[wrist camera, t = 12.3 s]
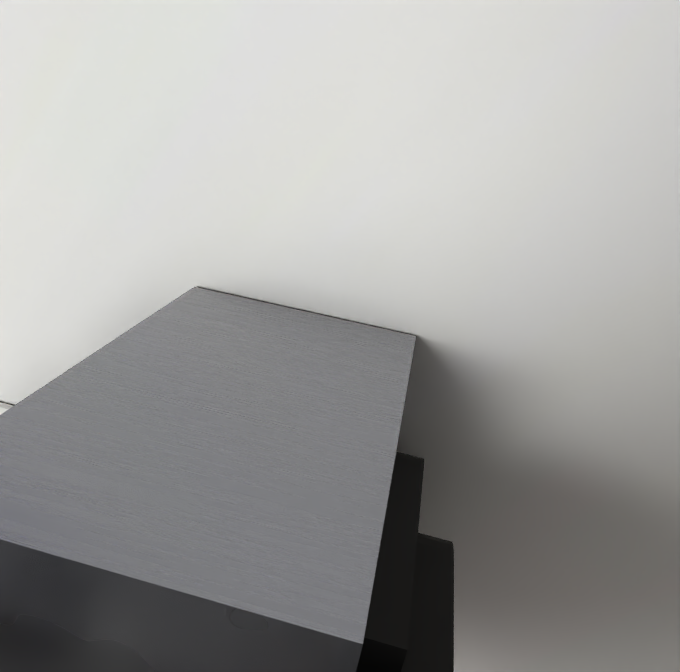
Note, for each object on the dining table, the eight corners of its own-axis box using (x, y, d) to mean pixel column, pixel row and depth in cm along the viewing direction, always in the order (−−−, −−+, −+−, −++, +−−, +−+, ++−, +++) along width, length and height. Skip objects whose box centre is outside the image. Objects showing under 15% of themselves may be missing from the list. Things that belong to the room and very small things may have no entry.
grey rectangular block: (417, 336, 9) (362, 663, 4) (349, 625, 12) (258, 1064, 7) (193, 286, 10) (-153, 512, 4) (176, 576, 13) (-46, 945, 7)
